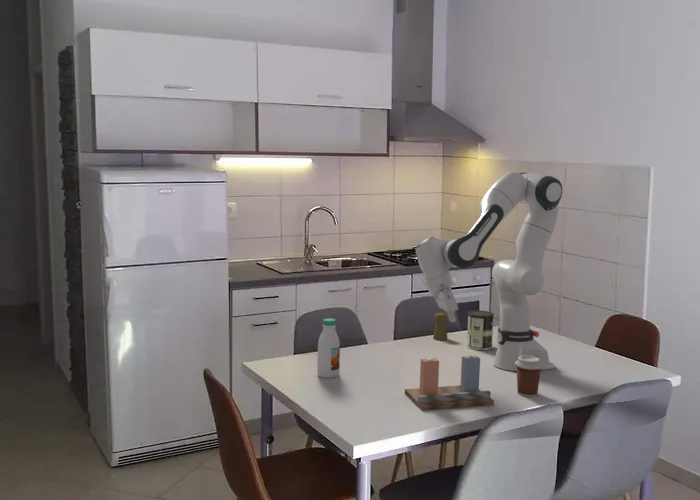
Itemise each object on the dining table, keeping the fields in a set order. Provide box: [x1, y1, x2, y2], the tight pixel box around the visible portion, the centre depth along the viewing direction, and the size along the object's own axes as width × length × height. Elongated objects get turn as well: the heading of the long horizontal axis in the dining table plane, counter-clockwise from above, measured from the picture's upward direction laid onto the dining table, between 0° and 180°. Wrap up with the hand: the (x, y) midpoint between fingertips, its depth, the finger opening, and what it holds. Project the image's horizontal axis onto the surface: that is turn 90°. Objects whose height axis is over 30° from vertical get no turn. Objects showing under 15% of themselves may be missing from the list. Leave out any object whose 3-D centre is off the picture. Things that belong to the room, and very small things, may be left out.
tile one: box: [419, 357, 440, 395], centre depth 232 cm, size 5×3×12 cm, turn 105°
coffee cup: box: [515, 356, 543, 398], centre depth 241 cm, size 9×9×12 cm
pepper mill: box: [432, 312, 448, 342], centre depth 310 cm, size 6×6×11 cm
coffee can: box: [466, 310, 495, 351], centre depth 298 cm, size 10×10×14 cm
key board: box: [404, 384, 495, 412], centre depth 235 cm, size 24×16×4 cm, turn 105°
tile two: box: [460, 355, 481, 393], centre depth 235 cm, size 5×3×12 cm, turn 105°
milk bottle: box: [316, 317, 341, 379], centre depth 256 cm, size 8×8×20 cm
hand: (453, 321), depth 254 cm, fingers closed
